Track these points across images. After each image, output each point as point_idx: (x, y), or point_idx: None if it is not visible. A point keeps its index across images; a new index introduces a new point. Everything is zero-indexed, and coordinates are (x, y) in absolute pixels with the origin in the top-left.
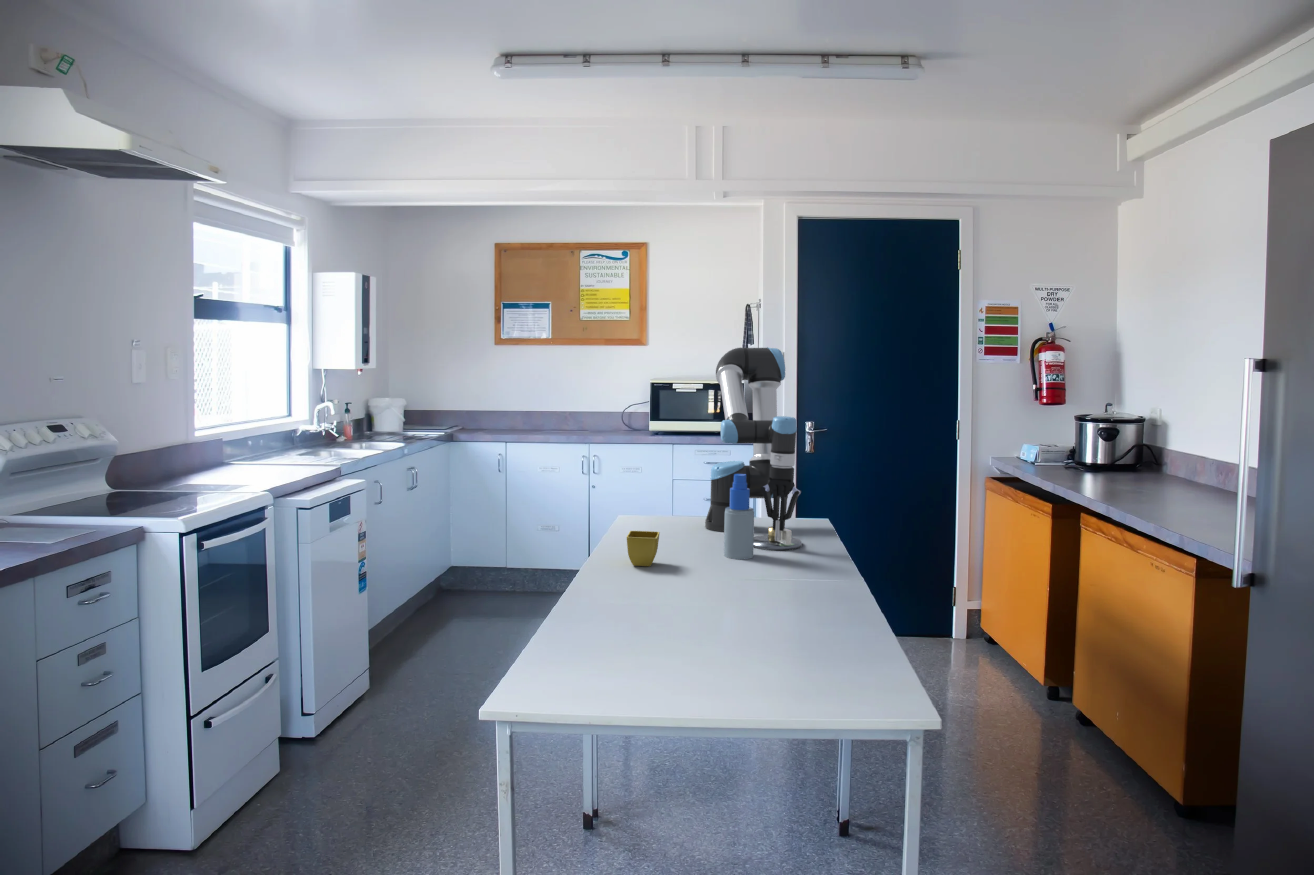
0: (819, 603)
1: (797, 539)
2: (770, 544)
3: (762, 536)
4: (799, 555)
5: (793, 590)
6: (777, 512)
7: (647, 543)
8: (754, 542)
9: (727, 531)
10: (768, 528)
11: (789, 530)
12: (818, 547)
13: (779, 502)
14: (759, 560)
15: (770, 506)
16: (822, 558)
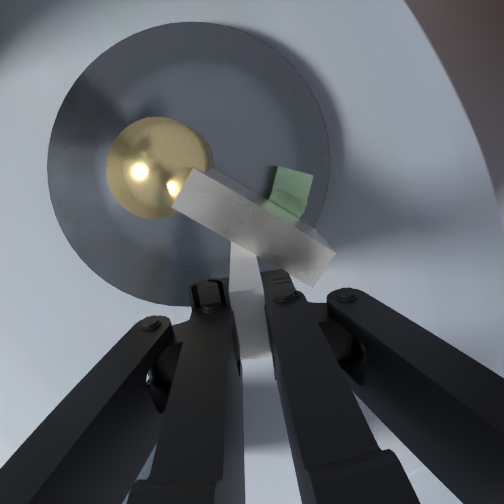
0: (456, 498)
1: (262, 49)
2: (201, 257)
3: (73, 119)
4: (379, 287)
5: (420, 498)
6: (237, 380)
7: None
8: (116, 269)
9: None
10: (122, 204)
11: (321, 255)
12: (390, 85)
13: (226, 422)
14: (275, 428)
15: (143, 424)
16: (462, 271)
